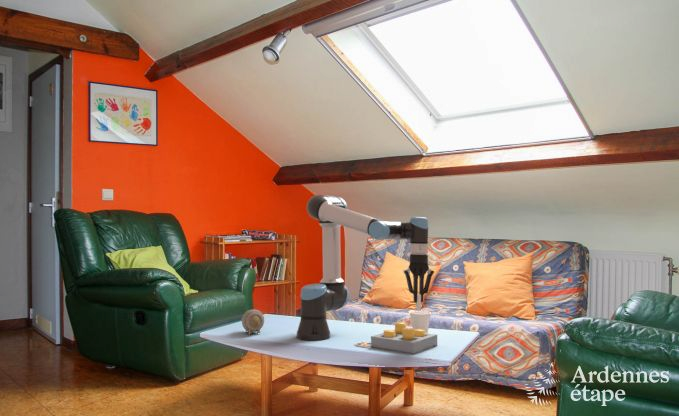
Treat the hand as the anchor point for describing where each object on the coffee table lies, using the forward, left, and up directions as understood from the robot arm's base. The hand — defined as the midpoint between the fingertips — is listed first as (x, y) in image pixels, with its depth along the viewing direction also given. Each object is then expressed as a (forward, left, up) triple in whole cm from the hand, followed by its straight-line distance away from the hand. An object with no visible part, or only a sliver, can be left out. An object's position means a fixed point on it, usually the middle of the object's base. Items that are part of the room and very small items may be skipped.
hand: (418, 310), depth 219 cm
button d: (0, 0, -13) cm, 13 cm away
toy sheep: (-75, -23, -15) cm, 80 cm away
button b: (0, -9, -11) cm, 15 cm away
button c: (-9, 0, -11) cm, 14 cm away
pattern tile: (-18, -13, -15) cm, 27 cm away
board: (-4, -4, -15) cm, 16 cm away
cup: (-8, +17, -15) cm, 24 cm away
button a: (-9, -9, -13) cm, 18 cm away
